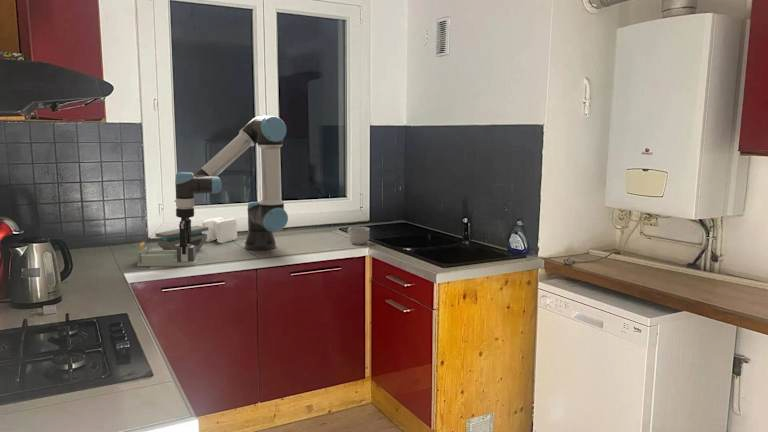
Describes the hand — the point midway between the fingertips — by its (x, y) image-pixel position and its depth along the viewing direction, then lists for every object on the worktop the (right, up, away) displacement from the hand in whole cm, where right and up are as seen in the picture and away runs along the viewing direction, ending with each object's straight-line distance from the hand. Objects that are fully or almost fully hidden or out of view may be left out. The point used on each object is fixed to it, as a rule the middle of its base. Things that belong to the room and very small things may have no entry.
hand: (185, 259), depth 265 cm
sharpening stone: (-8, +2, +19) cm, 21 cm away
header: (-7, -1, 0) cm, 7 cm away
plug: (0, 0, 0) cm, 0 cm away
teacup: (+74, +5, +48) cm, 88 cm away
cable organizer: (+2, +6, +47) cm, 48 cm away
